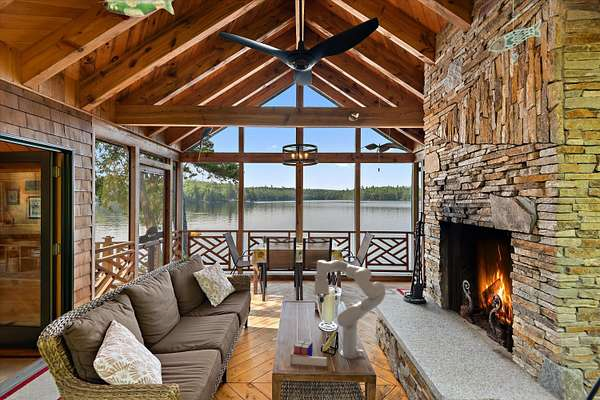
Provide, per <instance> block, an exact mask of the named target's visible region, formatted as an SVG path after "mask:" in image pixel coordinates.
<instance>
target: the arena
mask: <svg viewBox="0 0 600 400" xmlns="http://www.w3.org/2000/svg"><path fill="white" fill-rule="evenodd" d="M289 355H290V364H291V365H301V366H302V365H305V366H318V367H327V363H328V361H327V357H325V356H309V355H296V354H294V346H293V347H292V350H291V352H290V354H289Z"/></svg>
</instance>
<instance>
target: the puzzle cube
mask: <svg viewBox="0 0 600 400" xmlns="http://www.w3.org/2000/svg"><path fill="white" fill-rule="evenodd" d="M313 344H314V343H313V342H312V341H306V340H303V339H302V340H301V339H299V340H298V341H297V342H296V343H295V344H294V346H293V347H294V354H296V355H309V356H313V352H314V350H313V347H314V345H313ZM313 357H314V356H313Z"/></svg>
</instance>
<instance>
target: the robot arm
mask: <svg viewBox="0 0 600 400" xmlns="http://www.w3.org/2000/svg"><path fill="white" fill-rule="evenodd" d="M336 271H337V272H343V273H345V275H346V277H347V278H352V279H354V282H355V283H356V284H357V285H358V287H359V289H360V290H361V291H362V292H363V294H364V295H365V296H366V297H364V298H363V299H362V300H360V301H358V302H355V303H354V304H352V305H350V306H349V307H348V308H346V309H345V310H343V311H341V312H340V313H339V314H338V315H337V318H336V321H337V324H338V326H340V327H342V349H341V350H340V356H341V357H343V358H345V359H351V360H352V359H357V358H358V357H359V355H360V354H364V350H362V348H358V346H357V338H358V337H357V331H358V329H357V327H358V321H359V320H361V319H362V318H363V317H364V316H366V315H367V314H368V313H369V312H371V311H372V310H374V309H375V308H376V307H378V306H379V305H380V304H382V302H383V301H384V298H385V297H386V287H385V285H384V283H382V282H381V281H374V282H371V280H370V279H371V277H372V271H371V270H370V269H369V268H366V267H362V266H357V265H353V264H350V263H348V262H345V261H342V260H338V259H337V260H336V259H332V260H331V261H327V260H325V259H319V260H317V261H316V274H315V275H314V278H315V279H314V280H315V281H314V293H313V294H314V295H316V296H318V298H319V302H320V304H323V303H324V302H325V297H326V296H329V295H330V285H329V279H328V274H329V273H330V274H331V273H333V272H336Z"/></svg>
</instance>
